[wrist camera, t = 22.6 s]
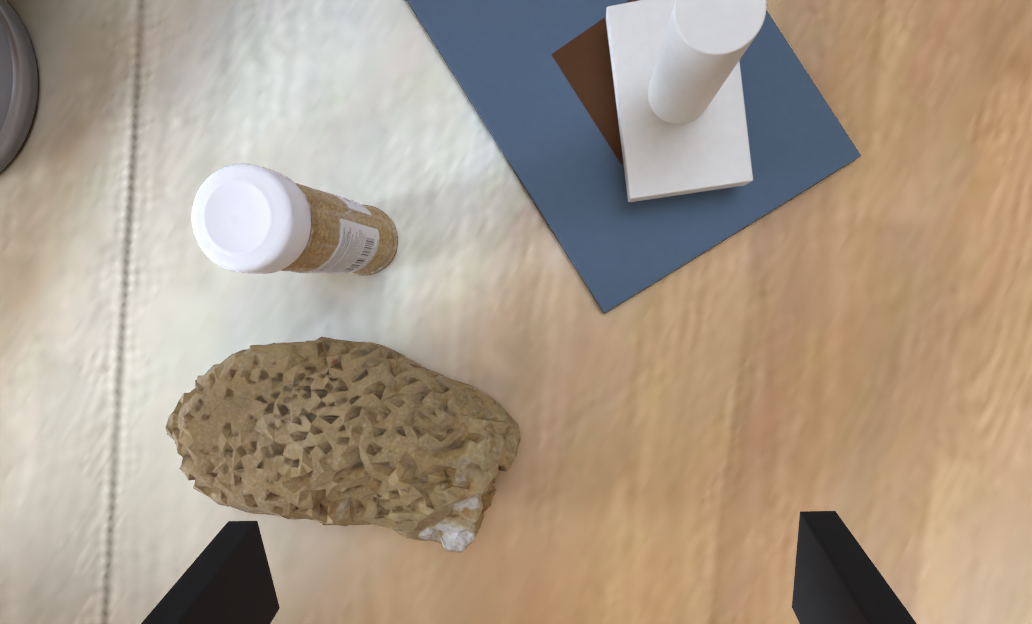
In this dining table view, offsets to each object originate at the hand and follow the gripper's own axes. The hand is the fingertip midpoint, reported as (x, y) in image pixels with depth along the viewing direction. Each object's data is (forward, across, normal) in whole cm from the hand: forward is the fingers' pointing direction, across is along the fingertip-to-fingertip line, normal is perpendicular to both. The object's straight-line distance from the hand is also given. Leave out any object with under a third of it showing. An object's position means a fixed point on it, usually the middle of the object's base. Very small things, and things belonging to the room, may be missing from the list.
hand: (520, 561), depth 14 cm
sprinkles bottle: (+24, -11, +4) cm, 27 cm away
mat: (+26, +5, +13) cm, 30 cm away
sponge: (+21, -13, -8) cm, 26 cm away
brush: (+25, +8, +11) cm, 28 cm away
